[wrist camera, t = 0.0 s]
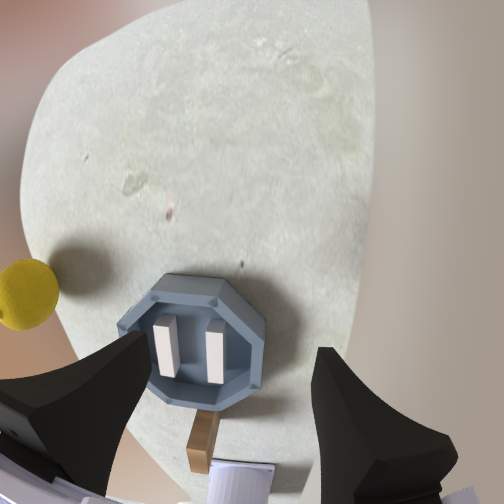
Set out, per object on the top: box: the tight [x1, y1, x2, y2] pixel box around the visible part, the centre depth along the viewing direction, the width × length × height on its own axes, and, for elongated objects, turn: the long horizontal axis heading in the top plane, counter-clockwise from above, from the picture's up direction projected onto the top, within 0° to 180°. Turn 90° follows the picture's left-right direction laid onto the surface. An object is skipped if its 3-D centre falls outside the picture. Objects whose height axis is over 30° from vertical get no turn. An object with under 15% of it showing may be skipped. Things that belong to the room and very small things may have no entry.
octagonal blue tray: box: [117, 274, 266, 412], centre depth 22 cm, size 11×11×3 cm
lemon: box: [0, 259, 59, 331], centre depth 19 cm, size 6×6×8 cm
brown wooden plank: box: [186, 409, 220, 475], centre depth 22 cm, size 4×2×7 cm, turn 177°
